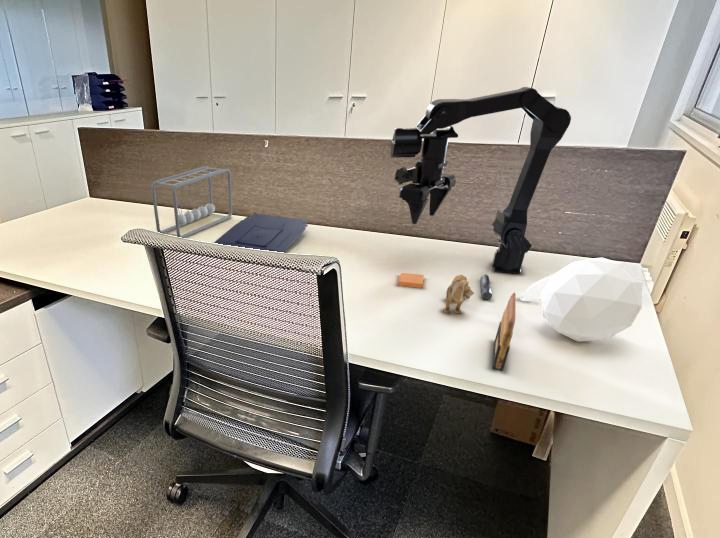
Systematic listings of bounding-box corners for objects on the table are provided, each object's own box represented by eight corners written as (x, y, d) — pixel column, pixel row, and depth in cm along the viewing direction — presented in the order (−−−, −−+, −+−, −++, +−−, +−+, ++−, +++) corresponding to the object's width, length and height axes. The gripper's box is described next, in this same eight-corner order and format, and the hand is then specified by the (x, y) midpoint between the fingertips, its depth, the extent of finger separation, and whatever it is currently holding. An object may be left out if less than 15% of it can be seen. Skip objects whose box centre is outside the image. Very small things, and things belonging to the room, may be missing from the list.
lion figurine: (468, 321, 109) (477, 285, 105) (442, 319, 111) (450, 282, 106) (463, 294, 121) (471, 260, 116) (441, 292, 123) (448, 258, 118)
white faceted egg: (630, 261, 85) (615, 217, 106) (497, 309, 100) (506, 262, 120) (665, 338, 88) (644, 281, 109) (531, 374, 103) (534, 317, 124)
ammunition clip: (493, 342, 102) (509, 290, 95) (503, 344, 101) (519, 291, 95) (491, 368, 94) (508, 313, 87) (502, 371, 93) (519, 315, 87)
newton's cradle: (211, 213, 188) (208, 164, 178) (233, 217, 182) (231, 167, 173) (156, 235, 168) (149, 182, 158) (179, 240, 163) (173, 185, 153)
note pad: (423, 279, 130) (424, 274, 129) (422, 288, 125) (422, 283, 124) (399, 276, 132) (400, 272, 131) (397, 285, 127) (398, 281, 126)
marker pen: (482, 282, 128) (490, 278, 127) (485, 302, 118) (493, 298, 117) (478, 275, 127) (486, 271, 126) (480, 295, 118) (489, 291, 116)
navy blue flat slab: (314, 228, 164) (314, 218, 161) (275, 270, 144) (275, 258, 142) (250, 220, 174) (250, 210, 172) (206, 257, 155) (205, 247, 152)
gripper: (421, 148, 131) (413, 206, 140) (384, 160, 120) (377, 222, 129) (462, 152, 124) (450, 213, 133) (426, 165, 114) (416, 230, 122)
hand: (423, 219), depth 129 cm, fingers open, 9 cm apart
